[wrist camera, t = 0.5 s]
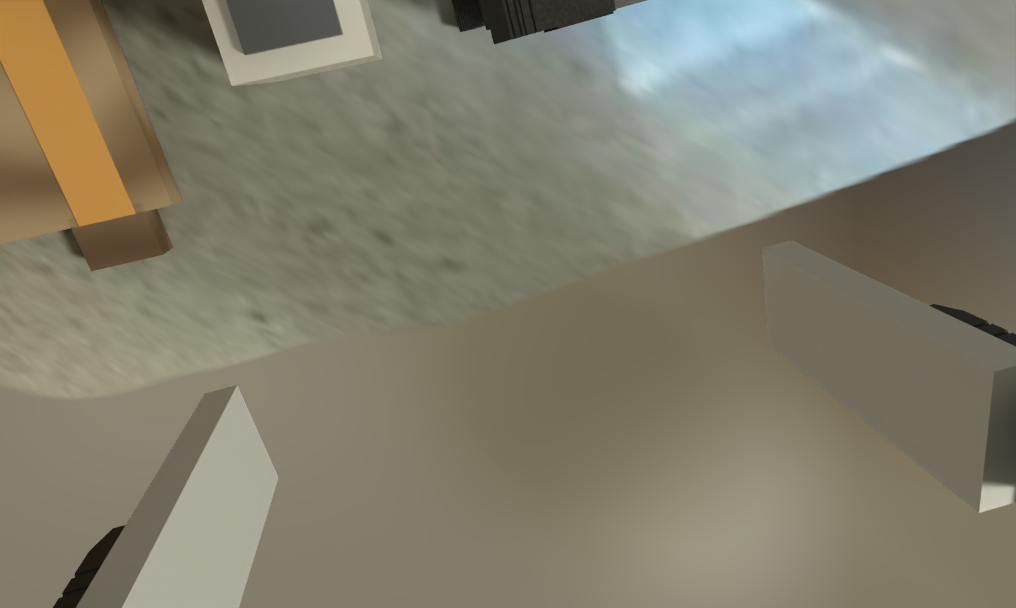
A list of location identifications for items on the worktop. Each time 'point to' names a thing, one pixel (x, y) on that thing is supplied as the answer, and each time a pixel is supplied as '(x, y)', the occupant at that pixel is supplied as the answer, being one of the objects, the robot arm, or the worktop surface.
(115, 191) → the subfloor panel
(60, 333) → the worktop surface
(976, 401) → the robot arm
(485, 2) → the gun
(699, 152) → the worktop surface
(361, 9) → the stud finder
